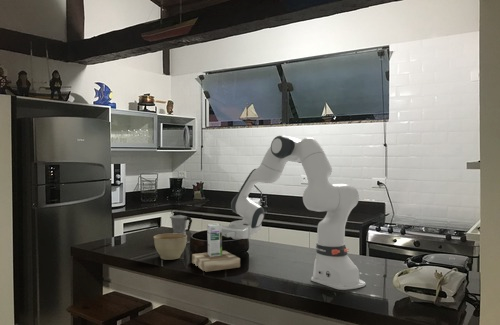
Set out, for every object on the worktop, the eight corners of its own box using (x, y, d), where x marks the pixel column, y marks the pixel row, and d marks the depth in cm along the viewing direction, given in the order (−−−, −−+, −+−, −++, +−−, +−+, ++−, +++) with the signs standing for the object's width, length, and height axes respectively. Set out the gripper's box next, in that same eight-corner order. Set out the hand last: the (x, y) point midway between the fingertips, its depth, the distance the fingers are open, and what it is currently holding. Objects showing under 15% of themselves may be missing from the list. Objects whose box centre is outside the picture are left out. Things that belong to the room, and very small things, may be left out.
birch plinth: (240, 267, 189) (240, 257, 189) (204, 271, 181) (204, 261, 181) (225, 258, 204) (225, 250, 204) (192, 262, 196) (192, 253, 196)
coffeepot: (164, 243, 239) (165, 212, 239) (175, 240, 247) (175, 210, 247) (186, 246, 232) (186, 213, 232) (196, 243, 240) (196, 211, 240)
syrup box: (210, 257, 189) (209, 225, 189) (207, 254, 195) (207, 223, 194) (222, 256, 191) (221, 224, 190) (219, 253, 196) (219, 222, 196)
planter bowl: (193, 256, 207) (193, 235, 207) (170, 263, 194) (170, 240, 194) (170, 252, 216) (170, 231, 216) (146, 258, 203) (146, 236, 203)
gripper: (221, 221, 211) (202, 224, 200) (253, 225, 199) (235, 229, 188) (221, 233, 211) (202, 238, 200) (253, 238, 199) (235, 243, 188)
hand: (218, 234), depth 194 cm, fingers open, 8 cm apart
